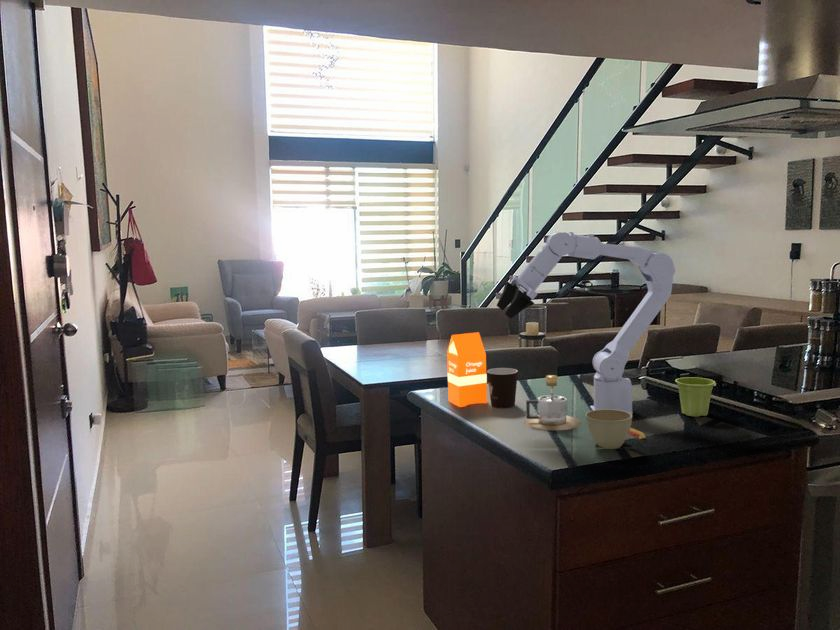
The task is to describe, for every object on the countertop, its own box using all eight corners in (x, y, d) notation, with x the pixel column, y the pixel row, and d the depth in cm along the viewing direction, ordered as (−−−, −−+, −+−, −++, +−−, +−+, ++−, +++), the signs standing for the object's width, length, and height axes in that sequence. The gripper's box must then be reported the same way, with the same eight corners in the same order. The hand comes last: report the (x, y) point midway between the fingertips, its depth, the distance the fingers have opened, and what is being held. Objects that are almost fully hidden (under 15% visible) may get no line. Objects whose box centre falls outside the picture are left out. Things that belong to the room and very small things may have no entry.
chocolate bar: (614, 427, 161) (614, 418, 161) (647, 441, 150) (647, 431, 150) (606, 429, 160) (606, 420, 160) (638, 442, 149) (638, 433, 149)
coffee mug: (517, 410, 178) (516, 374, 177) (485, 410, 180) (484, 374, 179) (519, 399, 190) (519, 365, 188) (490, 399, 191) (489, 365, 190)
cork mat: (575, 415, 172) (575, 413, 172) (585, 431, 158) (585, 429, 158) (521, 416, 173) (521, 414, 173) (527, 432, 159) (527, 430, 159)
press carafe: (564, 417, 168) (563, 394, 168) (568, 425, 161) (568, 401, 161) (525, 418, 169) (525, 395, 168) (528, 426, 162) (527, 402, 161)
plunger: (560, 398, 167) (560, 373, 166) (564, 404, 162) (563, 378, 161) (540, 399, 167) (539, 374, 166) (542, 404, 162) (542, 378, 161)
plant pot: (678, 407, 175) (678, 375, 174) (717, 411, 170) (717, 378, 169) (671, 416, 167) (672, 383, 166) (712, 420, 162) (712, 386, 161)
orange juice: (487, 403, 187) (485, 333, 185) (459, 407, 184) (457, 336, 182) (475, 397, 195) (473, 330, 192) (448, 401, 191) (445, 333, 189)
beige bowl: (623, 437, 152) (623, 407, 151) (639, 452, 142) (639, 419, 141) (580, 439, 152) (580, 409, 151) (593, 454, 142) (593, 421, 141)
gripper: (516, 256, 176) (485, 296, 178) (534, 268, 162) (500, 311, 164) (535, 271, 178) (504, 310, 180) (555, 284, 165) (520, 326, 166)
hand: (503, 312), depth 172 cm, fingers open, 7 cm apart
